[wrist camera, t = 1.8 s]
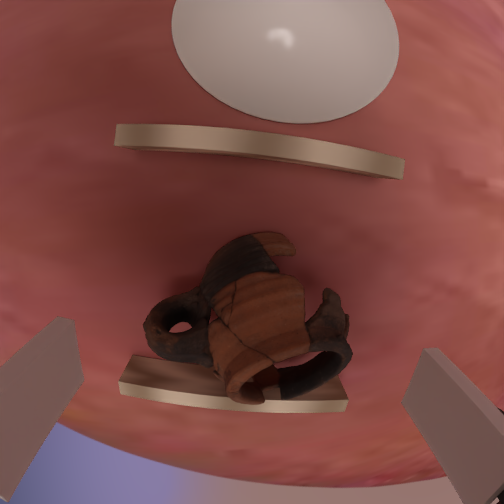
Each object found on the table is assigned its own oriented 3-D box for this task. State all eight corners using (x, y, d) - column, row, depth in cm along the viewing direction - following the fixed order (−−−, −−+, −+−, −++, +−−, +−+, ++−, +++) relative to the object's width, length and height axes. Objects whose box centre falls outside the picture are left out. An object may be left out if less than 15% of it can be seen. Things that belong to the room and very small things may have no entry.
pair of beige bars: (133, 367, 22) (120, 393, 18) (137, 131, 18) (116, 124, 14) (332, 383, 23) (344, 411, 19) (379, 160, 19) (404, 159, 15)
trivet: (195, -59, 14) (194, -61, 13) (392, -26, 15) (393, -28, 14) (154, 112, 17) (152, 112, 17) (394, 145, 18) (396, 145, 18)
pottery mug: (326, 216, 20) (392, 314, 14) (300, 309, 26) (337, 394, 20) (133, 232, 17) (129, 360, 11) (155, 329, 23) (166, 428, 17)
